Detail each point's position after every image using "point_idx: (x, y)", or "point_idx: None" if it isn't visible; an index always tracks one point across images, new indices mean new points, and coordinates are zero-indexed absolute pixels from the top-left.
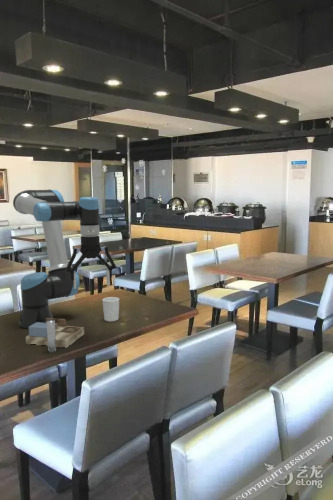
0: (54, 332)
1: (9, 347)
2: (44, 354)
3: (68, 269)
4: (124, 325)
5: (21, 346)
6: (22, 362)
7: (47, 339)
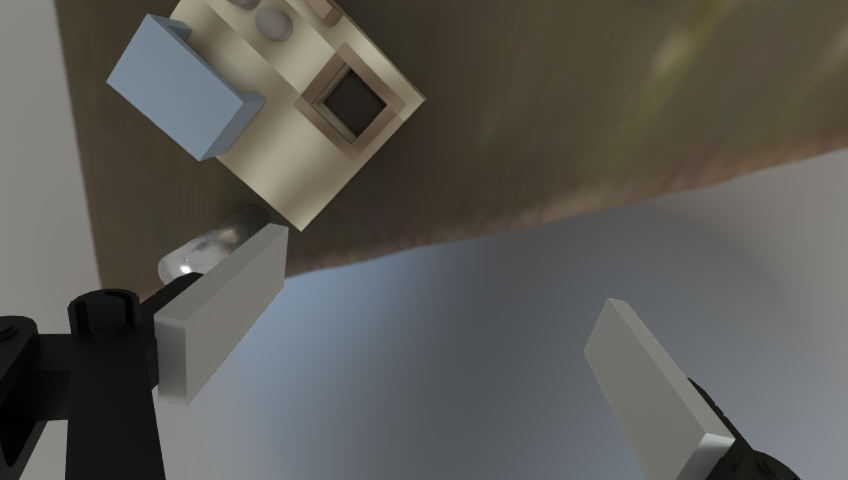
0: None
1: (86, 82)
2: None
3: (17, 431)
4: (661, 88)
5: None
6: (151, 262)
7: (229, 167)
